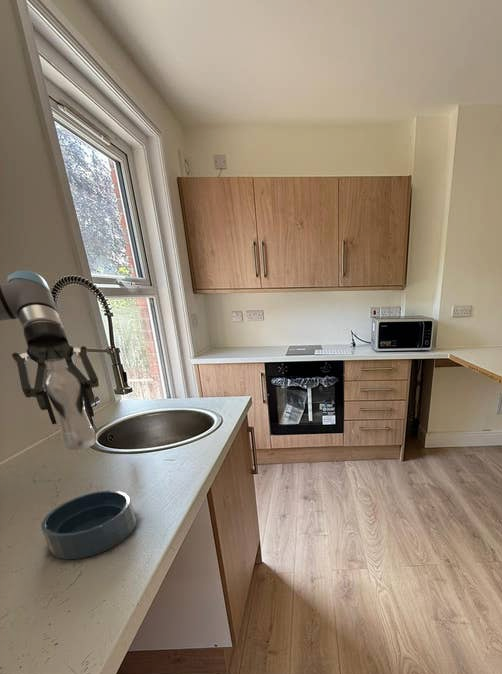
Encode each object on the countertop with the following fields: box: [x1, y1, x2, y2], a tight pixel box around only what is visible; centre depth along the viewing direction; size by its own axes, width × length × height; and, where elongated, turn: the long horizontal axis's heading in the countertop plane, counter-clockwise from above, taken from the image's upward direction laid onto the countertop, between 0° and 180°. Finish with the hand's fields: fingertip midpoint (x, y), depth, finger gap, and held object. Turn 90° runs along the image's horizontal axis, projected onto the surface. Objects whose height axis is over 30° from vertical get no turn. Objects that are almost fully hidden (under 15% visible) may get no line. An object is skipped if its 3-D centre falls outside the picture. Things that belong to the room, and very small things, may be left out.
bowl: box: [40, 489, 137, 560], centre depth 68 cm, size 14×14×6 cm
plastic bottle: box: [44, 358, 97, 451], centre depth 76 cm, size 6×7×20 cm
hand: (73, 417), depth 74 cm, fingers closed on plastic bottle, 6 cm apart
